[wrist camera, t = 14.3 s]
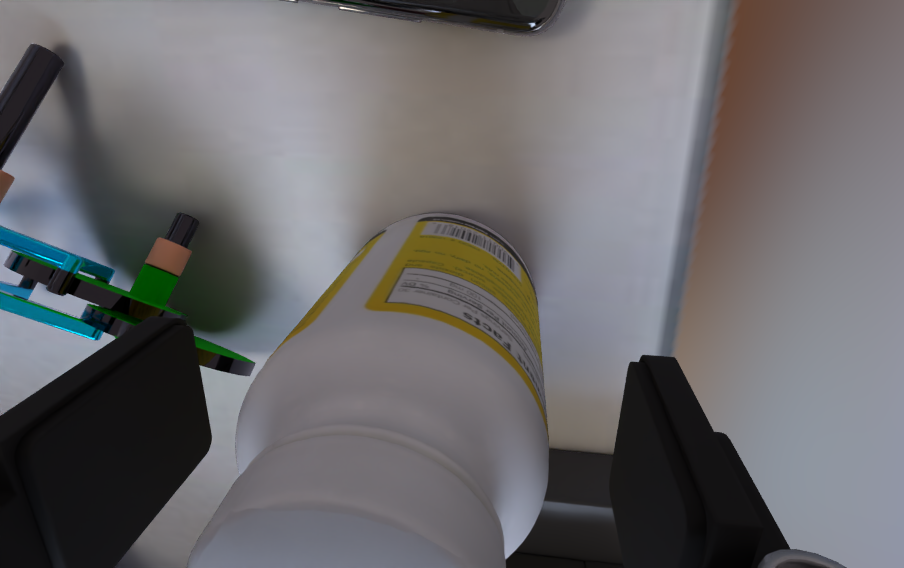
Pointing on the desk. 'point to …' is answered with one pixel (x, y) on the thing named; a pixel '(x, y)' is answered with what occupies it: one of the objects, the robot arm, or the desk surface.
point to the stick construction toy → (118, 309)
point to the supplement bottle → (396, 415)
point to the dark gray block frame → (573, 517)
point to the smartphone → (462, 12)
